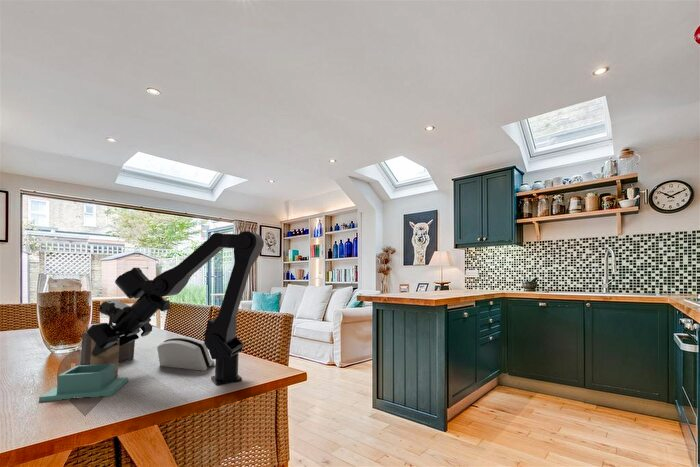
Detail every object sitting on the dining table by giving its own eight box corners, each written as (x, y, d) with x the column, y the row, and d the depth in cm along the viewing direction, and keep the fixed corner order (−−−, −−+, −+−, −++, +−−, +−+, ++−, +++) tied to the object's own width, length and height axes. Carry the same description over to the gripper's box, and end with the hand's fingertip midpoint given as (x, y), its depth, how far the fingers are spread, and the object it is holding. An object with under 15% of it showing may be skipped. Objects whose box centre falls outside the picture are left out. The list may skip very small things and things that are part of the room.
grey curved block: (216, 366, 107) (209, 335, 104) (205, 375, 102) (198, 344, 100) (172, 361, 112) (165, 332, 110) (160, 370, 108) (152, 340, 105)
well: (127, 381, 92) (129, 361, 93) (111, 395, 82) (112, 373, 82) (64, 385, 89) (66, 365, 89) (38, 401, 78) (40, 378, 79)
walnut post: (117, 375, 97) (120, 326, 99) (105, 380, 93) (108, 329, 94) (101, 375, 98) (104, 326, 99) (88, 380, 93) (92, 329, 95)
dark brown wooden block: (76, 365, 108) (80, 304, 110) (110, 356, 119) (113, 301, 121) (116, 368, 104) (120, 306, 106) (147, 359, 115) (150, 302, 116)
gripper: (144, 287, 107) (106, 325, 106) (96, 291, 88) (50, 337, 88) (168, 314, 105) (130, 352, 105) (125, 324, 87) (79, 370, 86)
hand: (100, 352), depth 96 cm, fingers closed on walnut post, 4 cm apart
